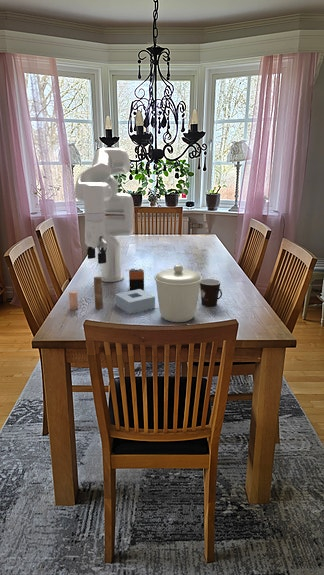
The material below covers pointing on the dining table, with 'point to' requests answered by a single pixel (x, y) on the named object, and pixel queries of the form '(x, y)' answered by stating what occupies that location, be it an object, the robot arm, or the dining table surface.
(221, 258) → the dining table surface
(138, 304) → the hole block
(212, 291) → the coffee mug
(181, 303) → the canister
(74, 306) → the short dowel
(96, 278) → the long dowel
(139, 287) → the battery
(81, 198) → the robot arm
